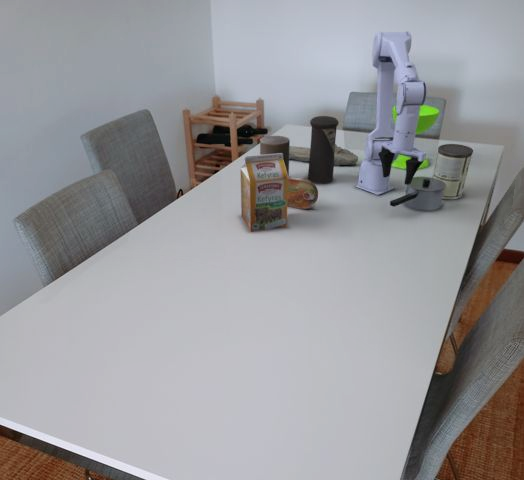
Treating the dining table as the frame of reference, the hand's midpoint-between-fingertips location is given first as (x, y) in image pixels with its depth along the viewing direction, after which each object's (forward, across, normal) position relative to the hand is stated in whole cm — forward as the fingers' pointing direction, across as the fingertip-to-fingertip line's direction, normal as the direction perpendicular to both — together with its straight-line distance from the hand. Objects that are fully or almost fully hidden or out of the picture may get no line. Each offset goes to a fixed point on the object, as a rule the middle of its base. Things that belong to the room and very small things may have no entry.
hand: (396, 180), depth 147 cm
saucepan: (+10, +2, +7) cm, 12 cm away
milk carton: (+10, -20, -34) cm, 40 cm away
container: (+10, -33, +3) cm, 34 cm away
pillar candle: (+10, -42, -10) cm, 44 cm away
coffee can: (+10, +3, +25) cm, 27 cm away
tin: (+10, -23, -19) cm, 31 cm away
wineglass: (+10, -24, +41) cm, 49 cm away
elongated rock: (+10, -50, +16) cm, 53 cm away
